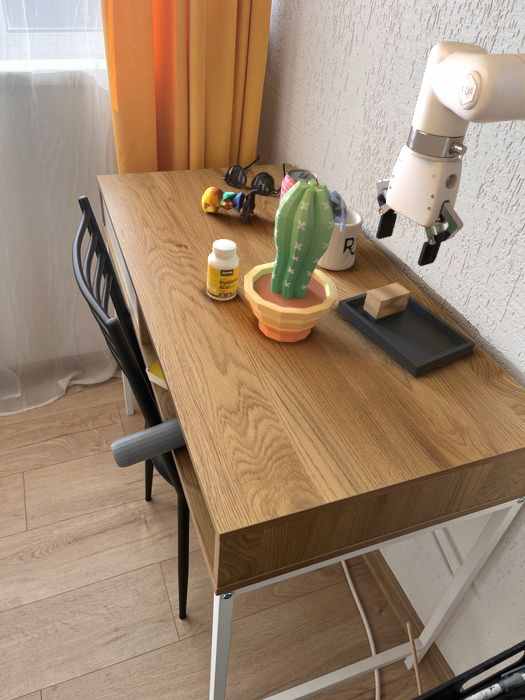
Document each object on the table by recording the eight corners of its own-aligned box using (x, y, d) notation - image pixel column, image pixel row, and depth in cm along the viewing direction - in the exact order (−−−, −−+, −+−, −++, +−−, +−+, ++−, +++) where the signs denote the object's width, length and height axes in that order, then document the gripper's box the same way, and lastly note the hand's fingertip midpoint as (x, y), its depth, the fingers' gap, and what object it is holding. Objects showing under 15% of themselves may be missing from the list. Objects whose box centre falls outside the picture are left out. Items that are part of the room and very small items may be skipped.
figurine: (198, 213, 119) (199, 187, 115) (214, 202, 124) (216, 176, 120) (243, 227, 116) (246, 201, 112) (258, 215, 121) (261, 189, 117)
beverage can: (316, 224, 120) (325, 172, 113) (306, 238, 114) (315, 185, 107) (283, 215, 122) (289, 164, 115) (272, 229, 116) (278, 176, 109)
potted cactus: (322, 364, 82) (356, 215, 66) (228, 342, 84) (238, 192, 68) (335, 310, 94) (366, 173, 78) (251, 292, 96) (265, 155, 80)
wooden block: (390, 303, 97) (397, 282, 94) (404, 313, 94) (410, 292, 92) (362, 312, 93) (367, 290, 90) (375, 322, 91) (381, 301, 88)
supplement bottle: (218, 305, 92) (220, 255, 86) (200, 290, 95) (201, 241, 89) (242, 296, 95) (247, 247, 88) (224, 282, 98) (227, 234, 92)
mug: (339, 277, 103) (349, 230, 97) (300, 260, 107) (308, 214, 101) (368, 255, 111) (380, 211, 105) (332, 240, 115) (341, 196, 109)
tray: (471, 352, 88) (476, 343, 87) (414, 377, 82) (418, 367, 81) (391, 293, 100) (394, 284, 99) (336, 310, 94) (338, 300, 93)
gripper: (500, 160, 71) (459, 270, 82) (410, 122, 82) (384, 224, 93) (463, 166, 68) (426, 280, 78) (374, 126, 79) (352, 231, 89)
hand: (403, 250), depth 86 cm, fingers open, 9 cm apart
